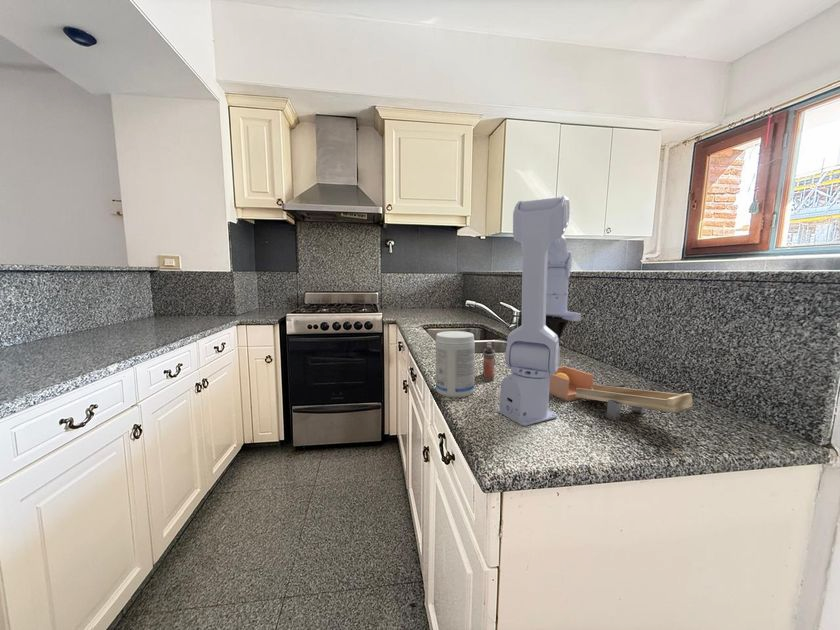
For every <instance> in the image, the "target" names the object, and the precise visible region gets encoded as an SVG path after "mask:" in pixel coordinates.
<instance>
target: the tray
mask: <svg viewBox="0 0 840 630" xmlns="http://www.w3.org/2000/svg"><path fill="white" fill-rule="evenodd" d="M557 373H564V374H566V375H567V376H568V377H569V379H566V378H563V377H560V376H557V375H555V374H557ZM555 374H551V375H550V386H549V395H551V396H553V397H557V398H558V399H561V400H564V401H566V402H571V401H572V402H573V401H576V400H580V399H581V400H582V398H580V397H575V393H576V388H582V389H590V390H592V389H593V385H594V375H595V374H592V373H589V372H585V371H582V370H579V369H576V368H572V367H568V366H565V365H562V366H558V370H557V372H556V373H555ZM569 380H570V382H569Z"/></svg>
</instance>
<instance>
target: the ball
mask: <svg viewBox="0 0 840 630" xmlns="http://www.w3.org/2000/svg"><path fill="white" fill-rule="evenodd" d="M555 375H557V376H560V377H563V378H566V379H569V377H568V376H567V375H566V374H564V373H557V374H555ZM569 382H570V380H569Z"/></svg>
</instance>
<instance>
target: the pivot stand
mask: <svg viewBox="0 0 840 630" xmlns="http://www.w3.org/2000/svg"><path fill="white" fill-rule="evenodd" d="M606 407H607V409H606V418H607V419H609V420H611V421H614V422H618V421H621V410H622V409H621V408H622V404H621V403H620V402H617V401H614V400H608V402H607V405H606ZM631 411H633V412H635V413H638V414H641V415H642V414H645V412H646V408H643V407H637V406H631Z"/></svg>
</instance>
